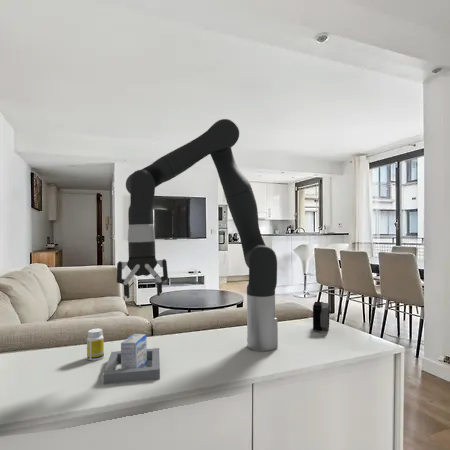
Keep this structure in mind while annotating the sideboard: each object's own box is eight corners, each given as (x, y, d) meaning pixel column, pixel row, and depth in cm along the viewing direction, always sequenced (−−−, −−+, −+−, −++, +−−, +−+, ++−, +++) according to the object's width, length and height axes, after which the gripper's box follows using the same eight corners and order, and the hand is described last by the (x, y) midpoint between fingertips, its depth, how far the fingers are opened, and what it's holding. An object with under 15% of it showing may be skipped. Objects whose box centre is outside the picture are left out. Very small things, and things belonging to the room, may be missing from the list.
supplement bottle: (107, 356, 106) (106, 328, 106) (96, 361, 101) (96, 333, 101) (94, 354, 107) (94, 327, 107) (83, 359, 103) (83, 331, 103)
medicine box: (136, 375, 92) (136, 343, 92) (120, 374, 92) (120, 342, 92) (147, 363, 99) (146, 333, 99) (132, 363, 100) (132, 333, 100)
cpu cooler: (328, 334, 125) (327, 306, 125) (312, 332, 127) (311, 305, 127) (330, 326, 135) (329, 300, 135) (315, 324, 137) (314, 299, 137)
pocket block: (159, 356, 105) (159, 348, 105) (159, 378, 89) (159, 369, 89) (111, 360, 102) (111, 351, 102) (103, 384, 86) (103, 374, 86)
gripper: (165, 239, 104) (167, 292, 104) (117, 240, 101) (118, 295, 101) (167, 239, 97) (169, 297, 97) (114, 241, 94) (116, 301, 94)
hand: (143, 296), depth 99 cm, fingers open, 8 cm apart
